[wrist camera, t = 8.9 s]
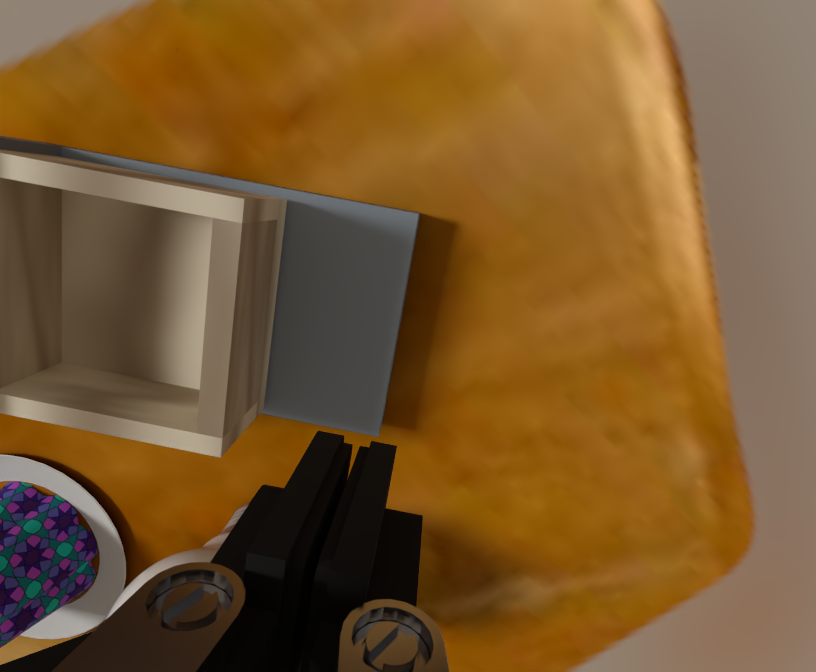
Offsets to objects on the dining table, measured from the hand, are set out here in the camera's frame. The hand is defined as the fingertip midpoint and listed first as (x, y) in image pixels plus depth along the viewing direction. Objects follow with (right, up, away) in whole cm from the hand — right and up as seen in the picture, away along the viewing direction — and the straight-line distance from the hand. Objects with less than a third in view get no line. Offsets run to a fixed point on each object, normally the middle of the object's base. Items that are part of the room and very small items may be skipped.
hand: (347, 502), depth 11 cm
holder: (-10, +6, +12) cm, 16 cm away
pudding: (-20, -8, +19) cm, 29 cm away
